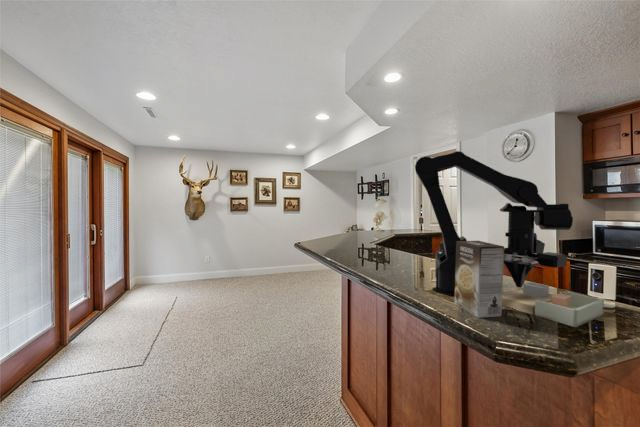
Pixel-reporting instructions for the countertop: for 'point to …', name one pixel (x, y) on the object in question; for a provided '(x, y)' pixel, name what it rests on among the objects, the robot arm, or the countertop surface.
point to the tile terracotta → (562, 300)
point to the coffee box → (479, 278)
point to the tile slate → (536, 289)
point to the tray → (571, 310)
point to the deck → (522, 300)
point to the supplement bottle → (439, 255)
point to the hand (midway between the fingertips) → (519, 287)
